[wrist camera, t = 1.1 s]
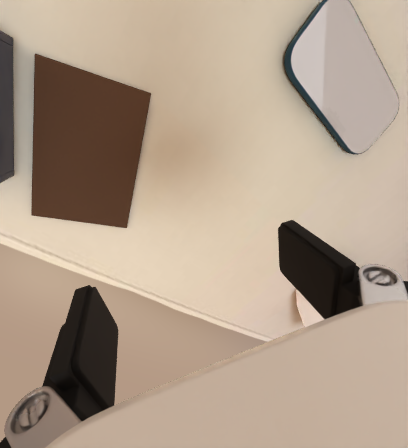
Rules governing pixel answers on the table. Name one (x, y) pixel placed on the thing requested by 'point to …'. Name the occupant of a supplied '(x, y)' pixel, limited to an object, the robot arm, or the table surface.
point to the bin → (6, 107)
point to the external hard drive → (342, 76)
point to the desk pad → (85, 144)
